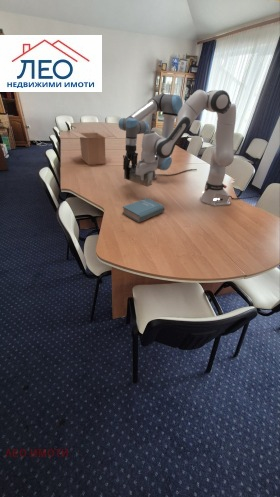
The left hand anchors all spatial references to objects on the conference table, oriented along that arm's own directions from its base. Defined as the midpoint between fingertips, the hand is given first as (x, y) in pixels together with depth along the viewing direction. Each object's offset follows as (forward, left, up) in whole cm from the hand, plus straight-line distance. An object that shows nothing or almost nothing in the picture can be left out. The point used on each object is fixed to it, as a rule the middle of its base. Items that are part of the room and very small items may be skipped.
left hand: (129, 178), depth 165 cm
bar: (-5, +5, -1) cm, 8 cm away
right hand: (-11, +11, +4) cm, 15 cm away
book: (-7, +32, -12) cm, 35 cm away
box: (+33, -86, -12) cm, 93 cm away
